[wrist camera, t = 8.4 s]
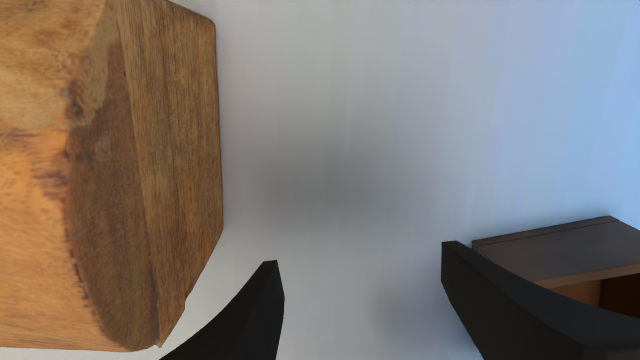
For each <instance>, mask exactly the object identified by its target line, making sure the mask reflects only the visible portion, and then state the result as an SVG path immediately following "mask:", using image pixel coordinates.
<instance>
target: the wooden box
mask: <svg viewBox="0 0 640 360" xmlns="http://www.w3.org/2000/svg"><path fill="white" fill-rule="evenodd" d="M222 230H223V215H222V183H221V157H220V137H219V118H218V91H217V72H216V52H215V25H214V23H213V22H212V21H211V20H210V19H209V18H207V17H205V16H202V15H200V14H198V13H196V12H194V11H191V10H189V9H187V8H185V7H182V6H180V5H178V4H175V3H173V2H171V1H169V0H0V347H10V348H39V349H65V350H94V351H109V352H134V351H139V350H143V349H147V348H149V347H151V346H153V345H157V346H158V347H159V348H161V347H162V345H163V343H164V342H165V340H166V339H167V338H168V336H169V335H170V333H171V331H172V330H173V328H174V327H175V325H176V324H177V322H178V320H179V318H180V317H181V315H182V313H183V311H184V309H185V301H186V298H187V297H188V295H189V294H190V293H191V291H192V289H193V287H194V285H195V284H196V282H197V280H198V278H199V276H200V274H201V273H202V271H203V269H204V268H205V266H206V264H207V262H208V260H209V258H210V256H211V254H212V252H213V250H214V248H215V246H216V244H217V242H218V240H219V238H220V235H221V233H222Z"/></svg>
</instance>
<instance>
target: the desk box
mask: <svg viewBox="0 0 640 360" xmlns="http://www.w3.org/2000/svg"><path fill="white" fill-rule="evenodd" d="M472 246H473V250H474V251H475V252H477V253H479V254H480V255H482V256H484V257H485V258H487V259H489V260H490V261H492V262H494V263H496V264H497V265H499V266H501V267H503V268H505V269H507V270H508V271H510V272H512V273H514V274H516V275H518V276H520V277H522V278H524V279H526V280H528V281H530V282H533V283H535V284H537V285H539V286H542V287H544V288H546V289H549V290H551V291H553V292H556V293H559V294H561V295H564V296H566V297H569V298H572V299H575V300H578V301H580V302H583V303H586V304H589V305H592V306H595V307H598V308H602V309H605V310H609V311H612V312H615V313H619V314H622V315H626V316H630V317H634V318H638V319H640V230H638V229H636V228H634V227H632V226H630V225H628V224H626V223H624V222H622V221H619V220H618V219H616V218H614V217H612V216H606V217H601V218H595V219H590V220H584V221H579V222H574V223H568V224H563V225H557V226H552V227H546V228H541V229H536V230H530V231H525V232H519V233H514V234H508V235H503V236H498V237H492V238H487V239H481V240H476V241H472Z"/></svg>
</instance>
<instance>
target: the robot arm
mask: <svg viewBox="0 0 640 360" xmlns="http://www.w3.org/2000/svg"><path fill="white" fill-rule="evenodd" d="M441 282H442V284H443V287H444V289H445V292H446V294H447V296H448V298H449V301H450V303H451V305H452V306H453V308H454V310H455V311H456V313H457V315H458V316H459V318H460V320H461V322H462V323H463V325H464V327H465V328H466V330H467V332H468V333H469V335H470V337H471V338H472V340H473V342H474V343H475V345H476V347H477V348H478V350H479V352H480V354H481V355H482V357H483V359H484V360H640V319H638V318H634V317H630V316H626V315H622V314H619V313H615V312H612V311H609V310H605V309H602V308H598V307H595V306H592V305H589V304H586V303H583V302H580V301H578V300H575V299H572V298H569V297H566V296H564V295H561V294H559V293H556V292H553V291H551V290H549V289H546V288H544V287H542V286H539V285H537V284H535V283H533V282H530V281H528V280H526V279H524V278H522V277H520V276H518V275H516V274H514V273H512V272H510V271H508V270H507V269H505V268H503V267H501V266H499V265H497V264H496V263H494V262H492V261H490V260H489V259H487V258H485V257H484V256H482V255H480V254H479V253H477V252H475V251H474V250H472V249H470V248H469V247H467V246H465V245H463V244H462V243H460V242H458V241H447V242H442V257H441ZM284 300H285V297H284V292H283V287H282V282H281V277H280V272H279V267H278V262H277V260H272V261H263V263H262V264H261V265H260V266H259V267H258V269H257V270H256V271H255V273H254V274H253V275H252V276H251V278H250V279H249V280H248V281H247V283H246V284H245V285H244V286H243V288H242V289H241V290H240V291H239V292H238V294H237V295H236V296H235V297H234V298H233V299H232V300H231V301H230V302H229V303H228V305H227V306H226V307H225V308H224V309H223V310H222V311H221V312H220V313H219V314H218V315H217V316H215V317H214V318H213V319H212V320H211V321H210V322H209V323H208V324H207V325H205V326H204V327H203V328H202V329H200V330H199V331H198V332H197V333H195V334H194V335H193V336H192V337H190V338H189V339H188V340H187V341H185V342H184V343H183V344H181V345H180V346H178V347H177V348H176V349H174V350H173V351H171V352H170V353H168V354H167V355H165V356H164V357H162V358H161V359H159V360H276V355H277V350H278V345H279V339H280V334H281V329H282V323H283V315H284Z"/></svg>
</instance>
